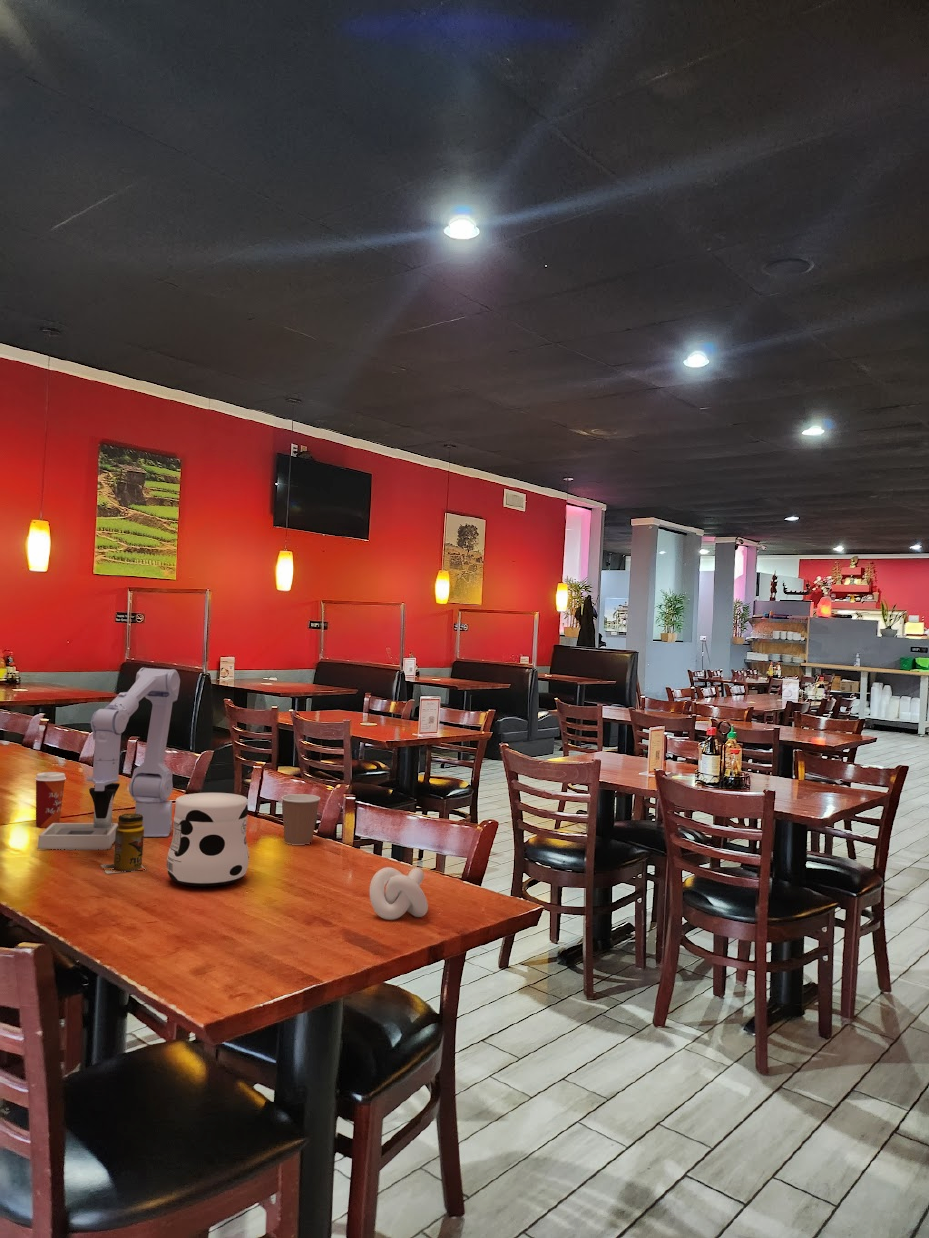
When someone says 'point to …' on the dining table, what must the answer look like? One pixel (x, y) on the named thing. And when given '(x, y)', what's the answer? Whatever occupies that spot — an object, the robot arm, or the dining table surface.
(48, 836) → the box
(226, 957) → the dining table surface
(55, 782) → the paper cup
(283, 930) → the dining table surface
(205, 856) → the milk container
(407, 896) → the white knot sculpture
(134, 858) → the condiment
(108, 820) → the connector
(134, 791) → the robot arm
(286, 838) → the coffee cup
